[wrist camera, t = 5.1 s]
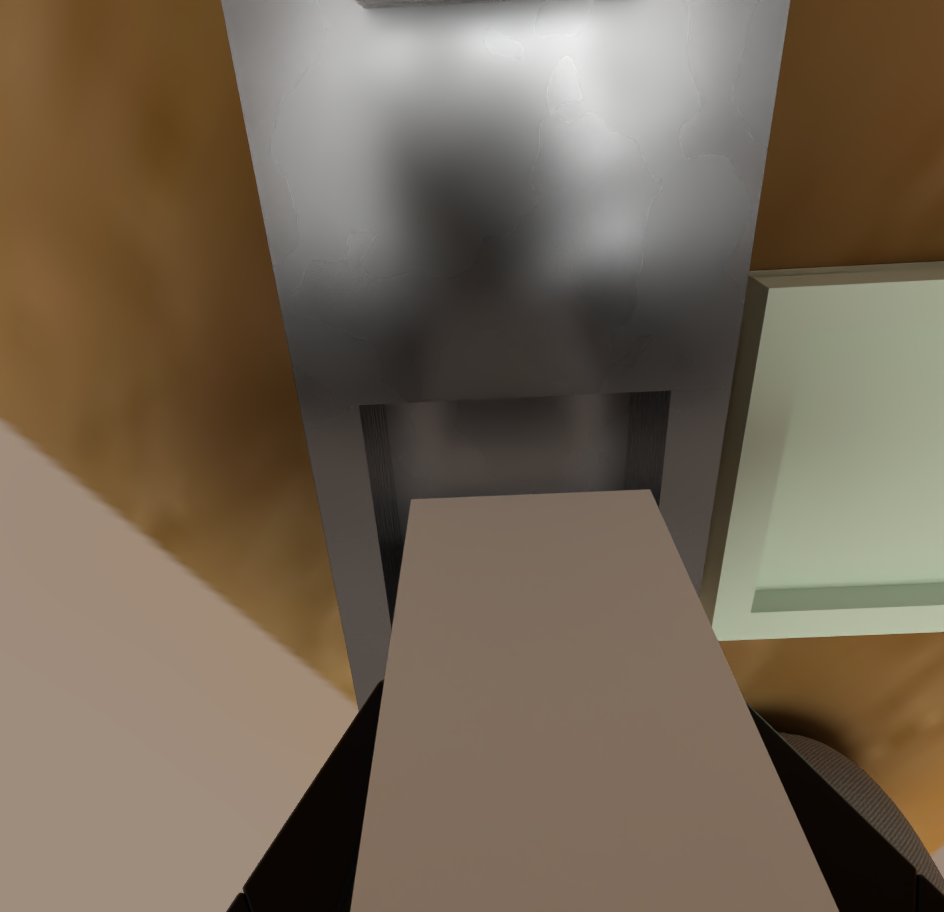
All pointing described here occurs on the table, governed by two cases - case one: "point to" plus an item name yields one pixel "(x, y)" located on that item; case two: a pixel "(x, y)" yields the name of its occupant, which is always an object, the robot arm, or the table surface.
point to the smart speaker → (867, 801)
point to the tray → (832, 458)
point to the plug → (567, 726)
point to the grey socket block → (505, 252)
